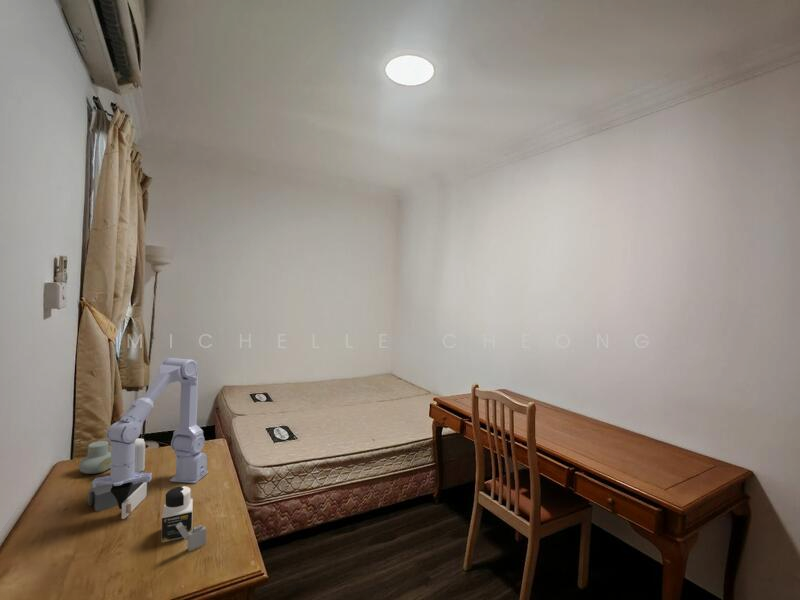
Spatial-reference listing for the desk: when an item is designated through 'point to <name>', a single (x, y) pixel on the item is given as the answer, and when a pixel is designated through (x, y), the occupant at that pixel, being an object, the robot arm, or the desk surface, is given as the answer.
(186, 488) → the medicine bottle
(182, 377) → the robot arm
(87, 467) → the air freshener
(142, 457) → the photo printer
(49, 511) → the desk surface
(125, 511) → the side door
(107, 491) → the camera case
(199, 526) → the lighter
